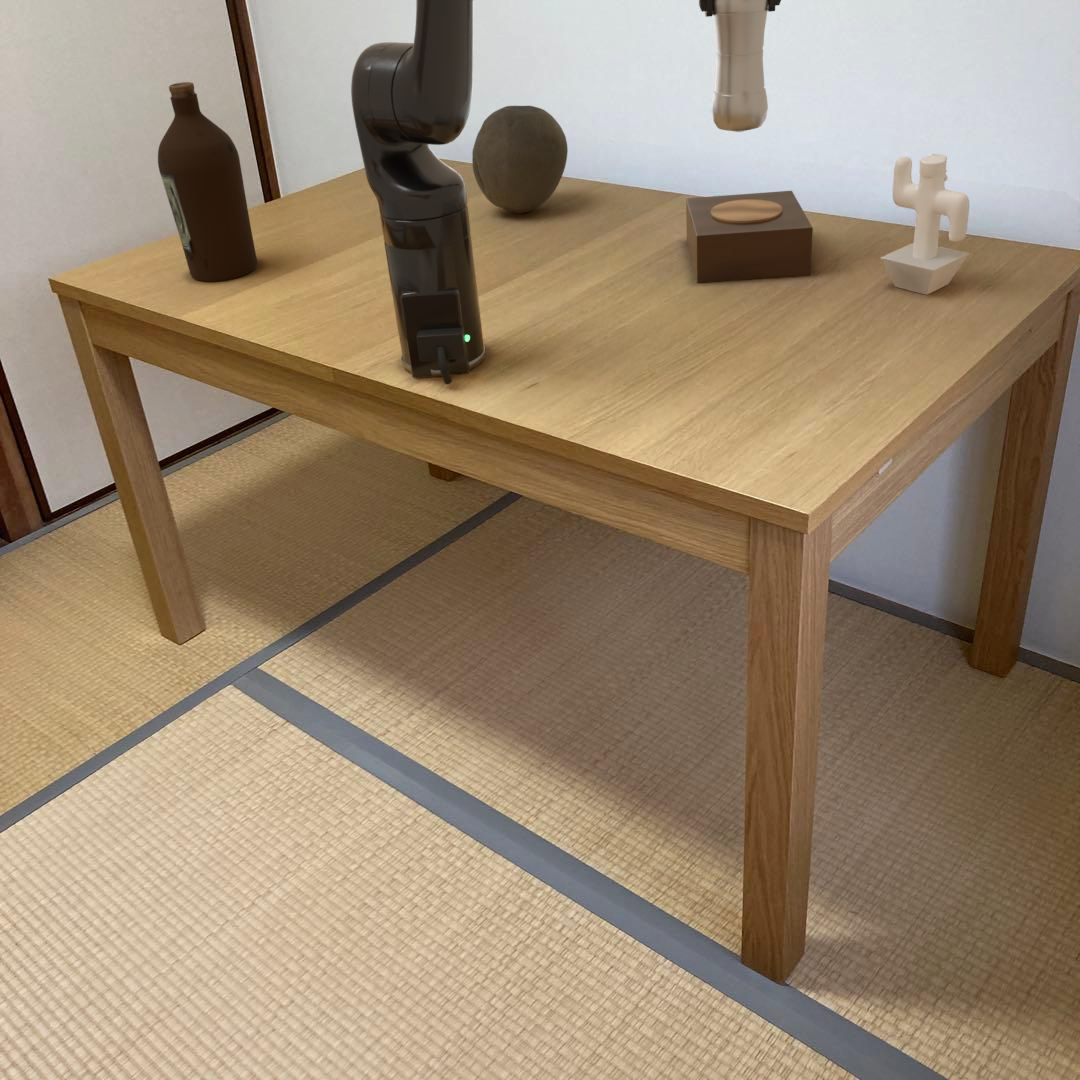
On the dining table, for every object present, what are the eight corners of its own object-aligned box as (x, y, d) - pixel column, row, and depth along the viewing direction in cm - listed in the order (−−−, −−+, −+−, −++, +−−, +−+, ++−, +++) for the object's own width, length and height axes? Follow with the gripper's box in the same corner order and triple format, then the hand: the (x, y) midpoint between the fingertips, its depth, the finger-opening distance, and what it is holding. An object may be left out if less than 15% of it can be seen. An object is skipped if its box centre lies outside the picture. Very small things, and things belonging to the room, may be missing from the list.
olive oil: (257, 253, 169) (217, 72, 156) (267, 274, 160) (226, 85, 147) (183, 266, 166) (136, 84, 153) (189, 289, 158) (141, 97, 145)
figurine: (938, 303, 132) (953, 170, 124) (869, 285, 139) (879, 158, 131) (974, 285, 136) (990, 155, 128) (905, 268, 142) (916, 144, 134)
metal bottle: (766, 136, 138) (770, -51, 127) (709, 138, 139) (708, -47, 128) (768, 122, 143) (772, -58, 132) (713, 124, 144) (713, -54, 134)
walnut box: (810, 275, 143) (813, 225, 140) (697, 283, 144) (696, 233, 141) (790, 234, 157) (792, 188, 153) (686, 242, 158) (686, 195, 154)
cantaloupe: (556, 223, 169) (548, 117, 161) (465, 223, 173) (453, 119, 165) (580, 195, 181) (574, 95, 173) (495, 195, 184) (485, 97, 176)
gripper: (677, -147, 122) (680, 23, 131) (814, -160, 121) (808, 12, 130) (672, -149, 129) (675, 13, 137) (802, -162, 128) (797, 3, 137)
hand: (739, 12), depth 134 cm, fingers closed on metal bottle, 6 cm apart
